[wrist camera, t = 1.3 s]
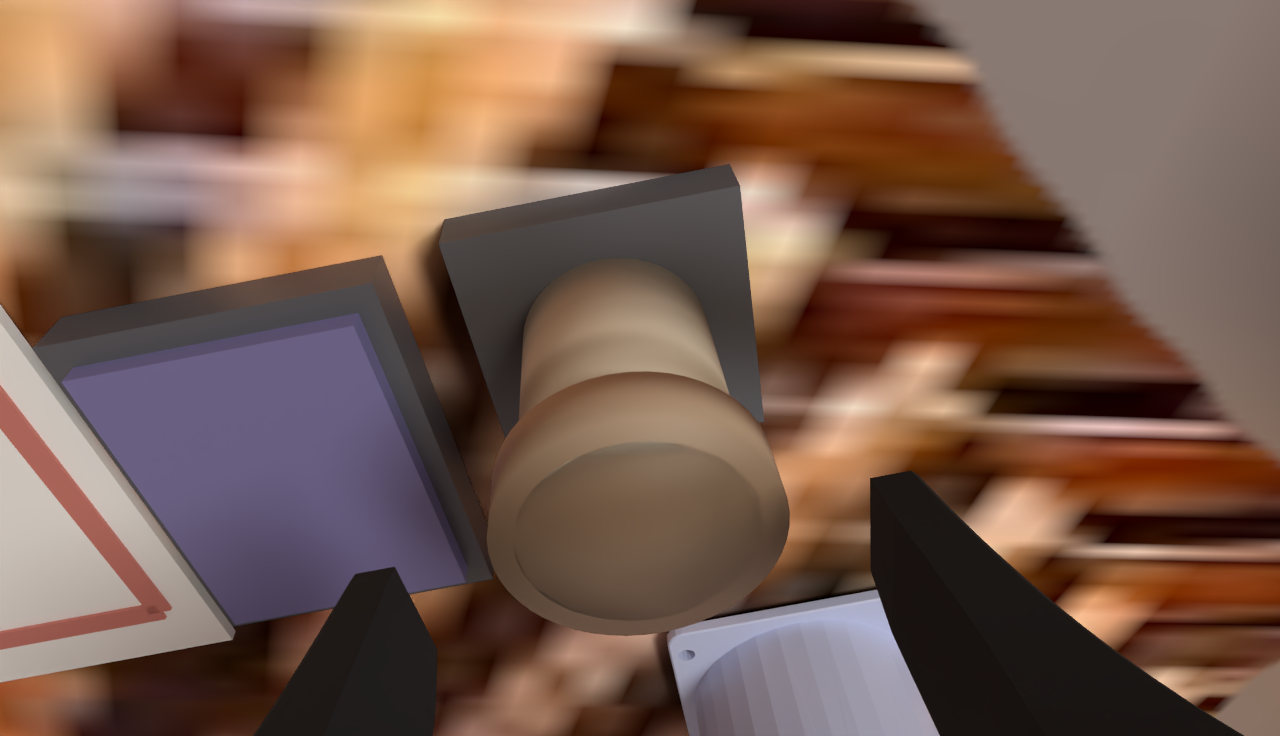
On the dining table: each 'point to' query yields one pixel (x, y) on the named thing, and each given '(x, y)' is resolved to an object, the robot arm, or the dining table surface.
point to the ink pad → (279, 436)
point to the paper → (80, 541)
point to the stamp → (622, 402)
